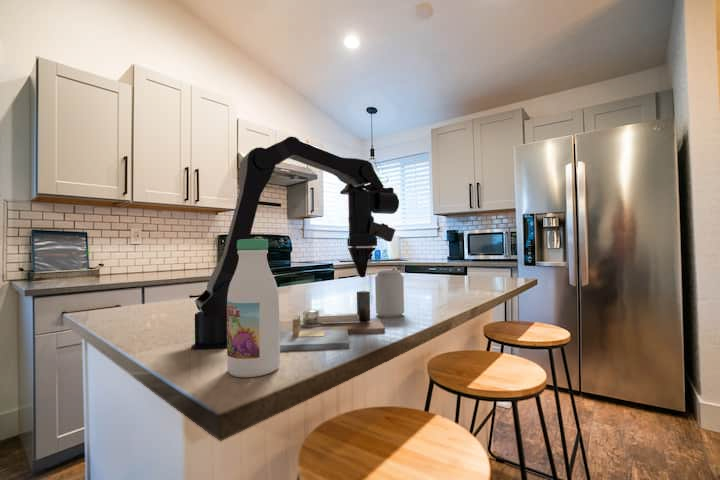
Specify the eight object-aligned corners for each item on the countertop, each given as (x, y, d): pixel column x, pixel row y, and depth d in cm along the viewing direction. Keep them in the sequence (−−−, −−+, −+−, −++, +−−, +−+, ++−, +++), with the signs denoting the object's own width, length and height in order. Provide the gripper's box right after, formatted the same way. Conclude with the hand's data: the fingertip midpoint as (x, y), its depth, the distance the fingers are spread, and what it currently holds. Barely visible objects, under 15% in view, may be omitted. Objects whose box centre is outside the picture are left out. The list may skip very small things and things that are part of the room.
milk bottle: (263, 357, 58) (262, 239, 59) (289, 368, 53) (288, 238, 53) (218, 370, 53) (217, 239, 53) (242, 383, 47) (241, 238, 48)
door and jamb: (260, 351, 62) (259, 326, 62) (278, 325, 82) (278, 306, 82) (392, 346, 64) (392, 322, 64) (378, 322, 84) (378, 303, 84)
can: (403, 312, 95) (402, 269, 95) (404, 318, 88) (403, 271, 88) (376, 312, 96) (375, 269, 96) (375, 318, 88) (374, 271, 89)
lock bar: (302, 324, 76) (301, 294, 77) (303, 320, 80) (303, 292, 80) (371, 321, 78) (370, 292, 78) (369, 318, 81) (368, 290, 81)
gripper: (398, 208, 77) (400, 278, 77) (386, 215, 96) (388, 271, 95) (348, 209, 76) (350, 279, 76) (346, 216, 95) (347, 272, 95)
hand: (361, 275), depth 86 cm, fingers open, 8 cm apart
